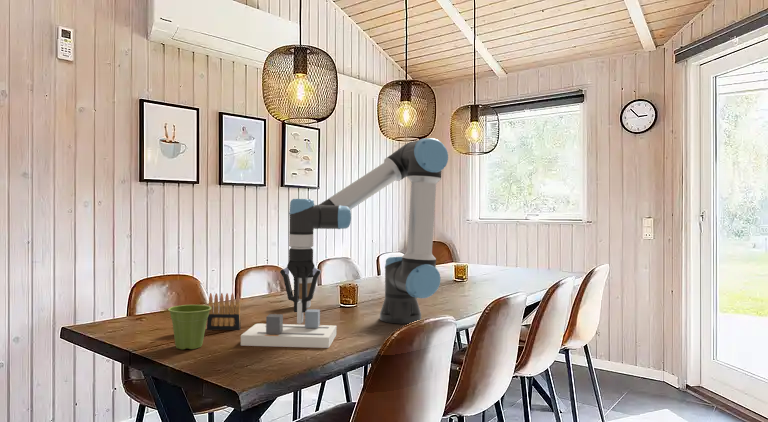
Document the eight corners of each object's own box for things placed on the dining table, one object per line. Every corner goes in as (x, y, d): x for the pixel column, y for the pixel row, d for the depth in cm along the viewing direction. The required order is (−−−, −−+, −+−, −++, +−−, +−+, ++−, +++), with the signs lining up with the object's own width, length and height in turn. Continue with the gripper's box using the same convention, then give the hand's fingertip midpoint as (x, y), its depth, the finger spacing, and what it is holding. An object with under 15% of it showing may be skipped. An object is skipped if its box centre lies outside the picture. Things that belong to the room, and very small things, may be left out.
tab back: (319, 325, 173) (320, 309, 173) (317, 328, 169) (317, 312, 169) (307, 324, 173) (307, 309, 173) (304, 327, 169) (305, 311, 169)
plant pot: (198, 353, 151) (199, 312, 151) (159, 351, 153) (159, 310, 153) (218, 342, 162) (218, 305, 162) (181, 340, 164) (181, 303, 164)
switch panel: (336, 334, 174) (336, 325, 174) (328, 347, 158) (328, 337, 158) (256, 332, 176) (256, 323, 176) (240, 345, 160) (240, 334, 160)
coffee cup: (309, 309, 216) (310, 271, 216) (289, 308, 218) (289, 270, 218) (316, 305, 225) (316, 269, 225) (296, 304, 226) (297, 268, 226)
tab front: (282, 330, 165) (282, 314, 165) (279, 334, 161) (279, 317, 161) (269, 330, 165) (269, 314, 165) (266, 333, 161) (266, 316, 161)
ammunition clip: (240, 328, 182) (241, 292, 181) (239, 329, 180) (240, 293, 180) (208, 328, 181) (208, 292, 181) (206, 329, 179) (207, 293, 179)
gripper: (323, 247, 175) (322, 320, 175) (283, 246, 175) (282, 319, 176) (319, 249, 167) (318, 325, 167) (277, 248, 168) (276, 324, 168)
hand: (300, 322), depth 171 cm, fingers closed
